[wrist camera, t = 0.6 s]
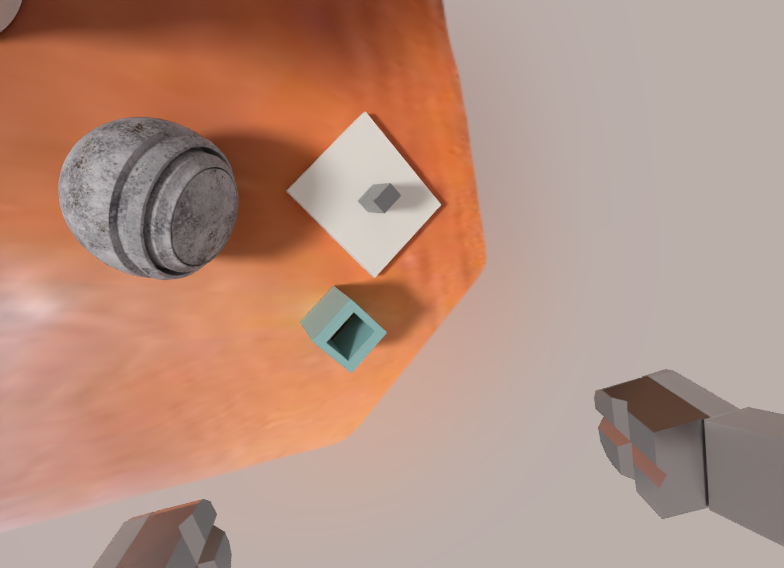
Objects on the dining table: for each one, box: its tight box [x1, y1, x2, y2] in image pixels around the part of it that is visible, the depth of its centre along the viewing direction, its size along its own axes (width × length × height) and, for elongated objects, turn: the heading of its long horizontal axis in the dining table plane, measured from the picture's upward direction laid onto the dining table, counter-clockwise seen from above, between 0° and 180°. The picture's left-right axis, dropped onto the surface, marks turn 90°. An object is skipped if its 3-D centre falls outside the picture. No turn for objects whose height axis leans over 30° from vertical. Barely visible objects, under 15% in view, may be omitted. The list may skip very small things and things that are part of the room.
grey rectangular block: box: [358, 183, 401, 214], centre depth 50 cm, size 2×3×6 cm, turn 134°
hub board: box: [286, 112, 441, 278], centre depth 53 cm, size 16×14×2 cm
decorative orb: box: [58, 117, 238, 280], centre depth 38 cm, size 15×14×15 cm
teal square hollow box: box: [300, 286, 387, 373], centre depth 52 cm, size 7×7×8 cm
